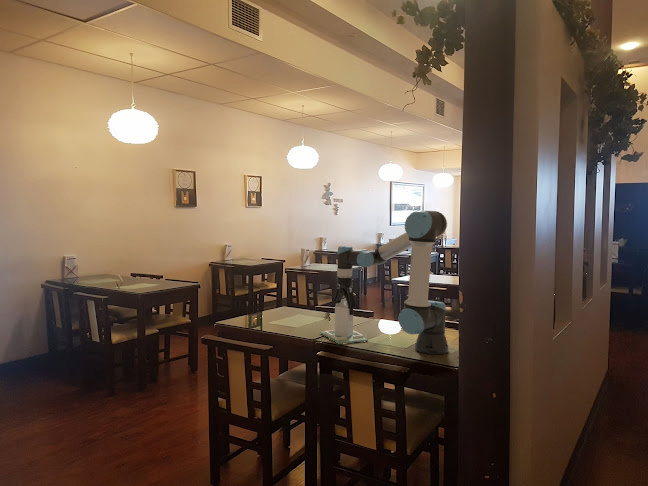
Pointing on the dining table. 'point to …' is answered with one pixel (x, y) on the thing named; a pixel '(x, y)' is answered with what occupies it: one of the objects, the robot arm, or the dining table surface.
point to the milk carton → (342, 320)
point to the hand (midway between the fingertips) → (344, 318)
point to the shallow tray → (340, 340)
